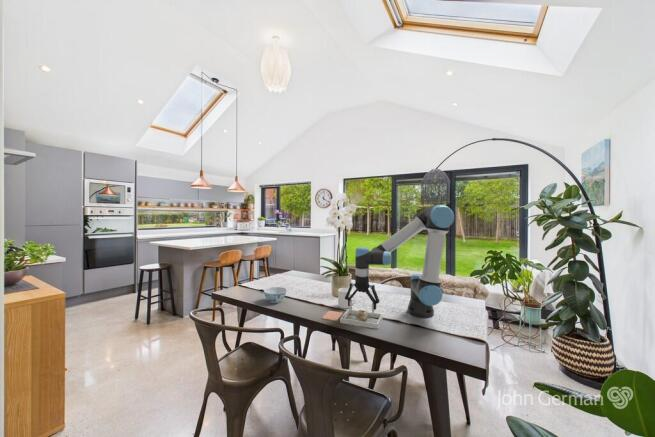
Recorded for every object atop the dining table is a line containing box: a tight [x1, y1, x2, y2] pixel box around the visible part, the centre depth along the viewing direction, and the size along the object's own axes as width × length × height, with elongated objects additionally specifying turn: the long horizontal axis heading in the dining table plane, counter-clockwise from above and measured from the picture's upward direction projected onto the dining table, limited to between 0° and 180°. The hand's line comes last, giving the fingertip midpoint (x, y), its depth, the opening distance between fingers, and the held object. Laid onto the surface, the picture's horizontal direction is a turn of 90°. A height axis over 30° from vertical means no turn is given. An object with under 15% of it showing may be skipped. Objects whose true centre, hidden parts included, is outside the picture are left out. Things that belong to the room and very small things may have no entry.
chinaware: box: [263, 286, 288, 304], centre depth 183 cm, size 15×15×8 cm
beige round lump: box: [355, 309, 368, 322], centre depth 152 cm, size 5×5×5 cm
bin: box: [339, 308, 384, 330], centre depth 153 cm, size 21×15×2 cm
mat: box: [321, 310, 344, 322], centre depth 159 cm, size 9×12×1 cm
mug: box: [337, 287, 356, 309], centre depth 173 cm, size 9×12×11 cm
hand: (361, 313), depth 152 cm, fingers open, 12 cm apart
